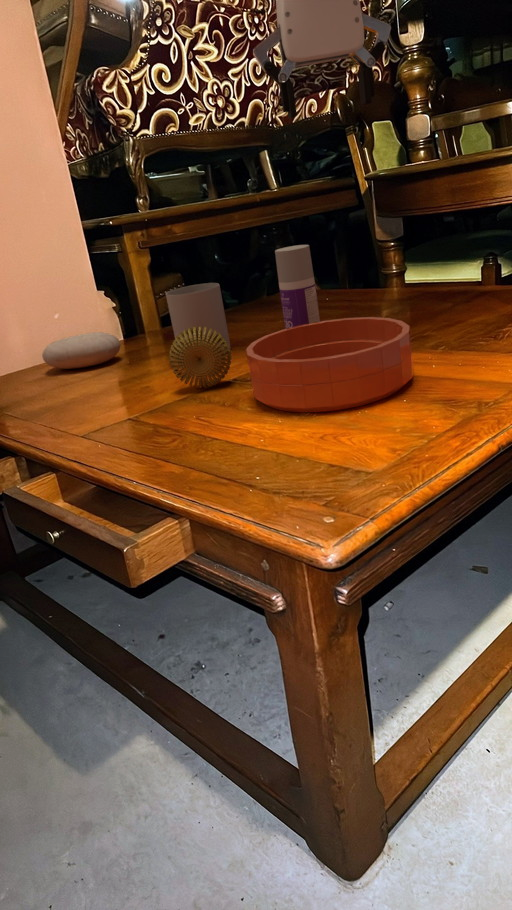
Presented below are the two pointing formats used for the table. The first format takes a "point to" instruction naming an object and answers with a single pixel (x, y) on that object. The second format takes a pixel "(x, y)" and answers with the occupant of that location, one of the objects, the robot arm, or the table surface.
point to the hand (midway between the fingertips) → (329, 111)
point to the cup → (198, 309)
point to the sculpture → (200, 357)
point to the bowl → (331, 364)
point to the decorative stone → (81, 350)
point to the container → (297, 285)
